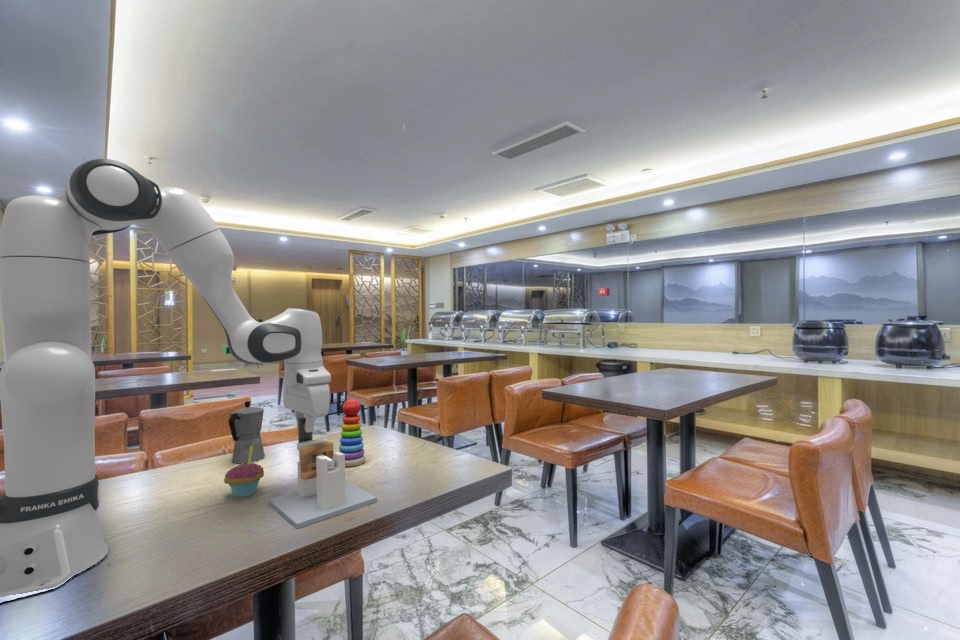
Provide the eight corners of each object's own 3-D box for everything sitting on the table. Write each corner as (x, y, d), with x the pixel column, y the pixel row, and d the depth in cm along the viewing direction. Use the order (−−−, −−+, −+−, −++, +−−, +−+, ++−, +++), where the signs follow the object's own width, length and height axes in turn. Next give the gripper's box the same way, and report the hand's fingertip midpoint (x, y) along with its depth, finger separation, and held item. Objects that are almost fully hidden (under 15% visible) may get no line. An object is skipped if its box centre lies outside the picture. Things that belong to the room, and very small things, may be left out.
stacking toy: (357, 468, 122) (355, 402, 122) (331, 467, 124) (330, 401, 124) (370, 459, 130) (368, 397, 130) (345, 458, 131) (344, 397, 132)
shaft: (325, 470, 93) (324, 429, 94) (296, 455, 105) (296, 418, 106) (339, 467, 96) (338, 426, 96) (309, 452, 108) (309, 416, 108)
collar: (304, 480, 97) (303, 449, 97) (300, 478, 99) (300, 447, 99) (333, 472, 102) (333, 442, 102) (330, 470, 104) (329, 441, 104)
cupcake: (253, 484, 111) (252, 438, 111) (271, 491, 106) (270, 442, 106) (218, 495, 104) (217, 446, 104) (235, 503, 99) (234, 451, 99)
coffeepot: (246, 453, 140) (245, 397, 140) (274, 452, 139) (273, 397, 140) (215, 469, 124) (213, 407, 125) (246, 468, 124) (245, 406, 124)
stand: (297, 528, 86) (295, 463, 86) (269, 504, 98) (267, 447, 98) (377, 501, 98) (375, 444, 98) (343, 483, 111) (342, 432, 111)
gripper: (276, 372, 111) (277, 425, 111) (307, 378, 96) (308, 440, 96) (300, 370, 115) (301, 421, 115) (334, 375, 100) (335, 434, 100)
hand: (305, 430), depth 105 cm, fingers closed on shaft, 3 cm apart
